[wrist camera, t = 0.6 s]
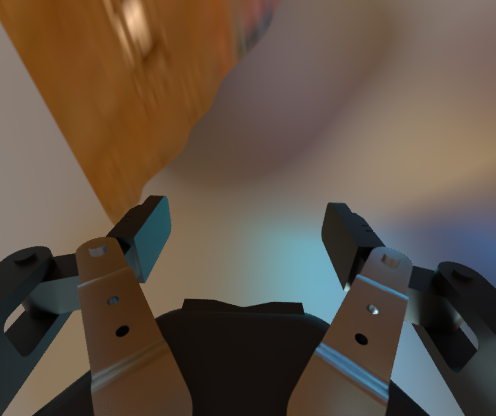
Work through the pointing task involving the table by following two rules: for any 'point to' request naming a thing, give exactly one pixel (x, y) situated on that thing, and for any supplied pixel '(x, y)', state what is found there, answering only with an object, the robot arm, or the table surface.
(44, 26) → the table surface
